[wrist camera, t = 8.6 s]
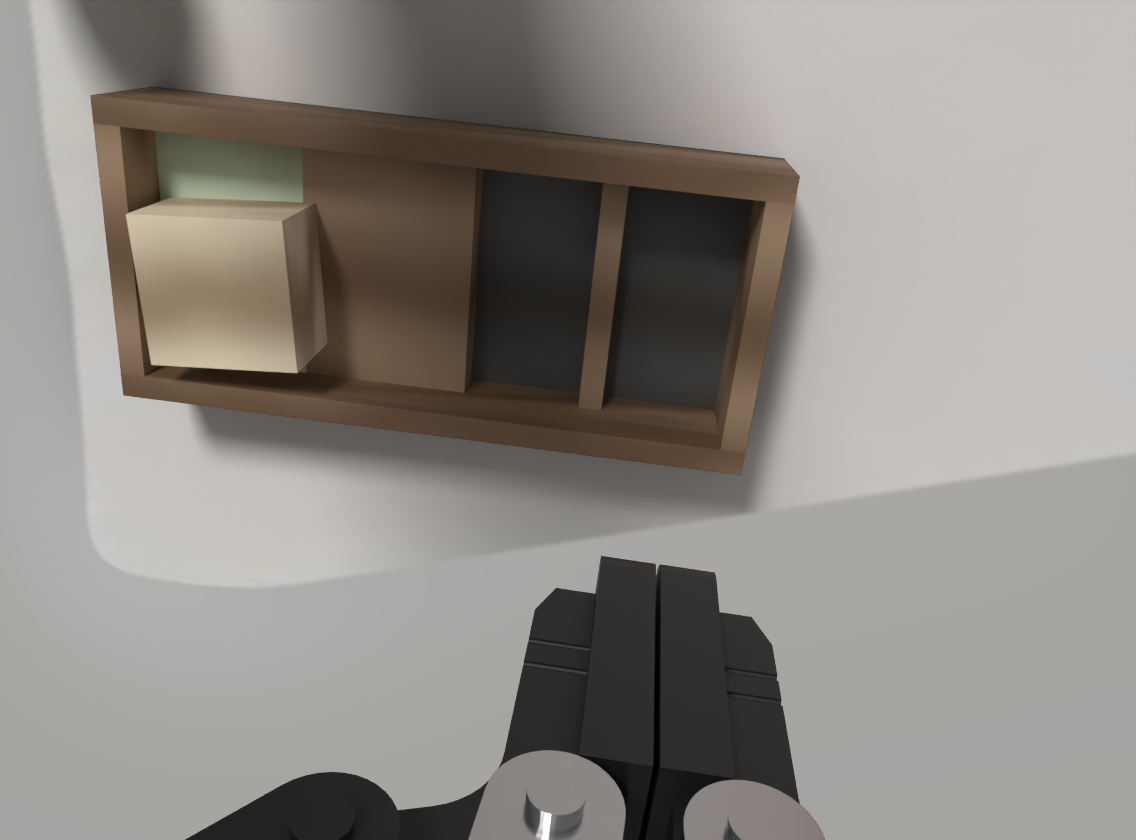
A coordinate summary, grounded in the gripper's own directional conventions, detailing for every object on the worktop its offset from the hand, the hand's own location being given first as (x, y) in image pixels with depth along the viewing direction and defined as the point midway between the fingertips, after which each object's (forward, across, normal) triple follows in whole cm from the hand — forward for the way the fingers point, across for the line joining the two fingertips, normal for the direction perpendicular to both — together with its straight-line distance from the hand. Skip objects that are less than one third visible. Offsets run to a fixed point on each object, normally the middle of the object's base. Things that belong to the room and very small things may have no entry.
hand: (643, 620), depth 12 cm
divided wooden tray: (+28, +8, +4) cm, 30 cm away
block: (+26, +16, +4) cm, 31 cm away
